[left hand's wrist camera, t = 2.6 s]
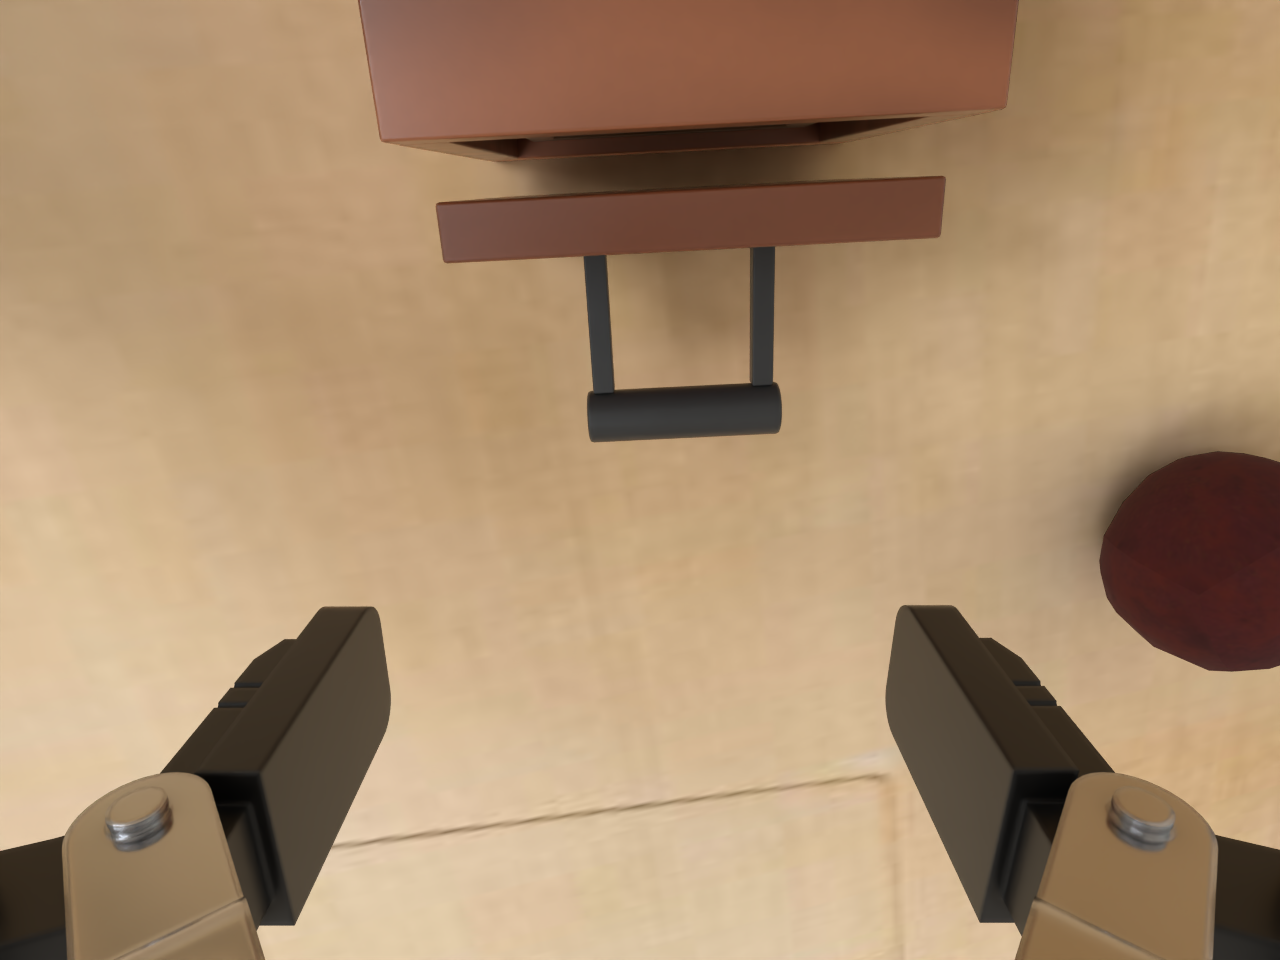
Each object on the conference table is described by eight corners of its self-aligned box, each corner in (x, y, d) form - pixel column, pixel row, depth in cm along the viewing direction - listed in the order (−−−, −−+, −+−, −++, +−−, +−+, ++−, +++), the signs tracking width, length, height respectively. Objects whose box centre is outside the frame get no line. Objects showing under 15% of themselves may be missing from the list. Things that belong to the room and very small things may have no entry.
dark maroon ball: (1290, 534, 30) (1476, 632, 23) (1107, 633, 31) (1231, 751, 25) (1224, 387, 28) (1408, 450, 21) (1030, 502, 29) (1144, 594, 23)
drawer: (822, 390, 27) (917, 494, 18) (531, 404, 27) (477, 514, 18) (855, -417, 19) (1053, -960, 10) (446, -391, 19) (279, -903, 10)
